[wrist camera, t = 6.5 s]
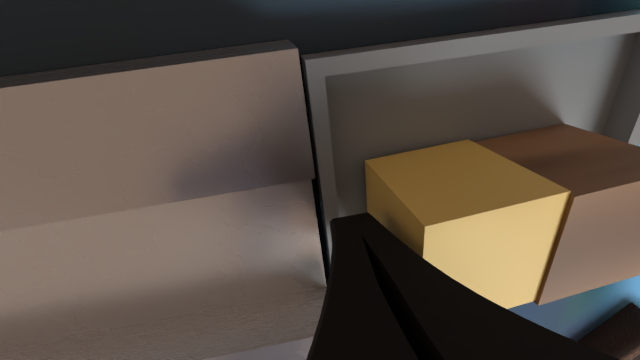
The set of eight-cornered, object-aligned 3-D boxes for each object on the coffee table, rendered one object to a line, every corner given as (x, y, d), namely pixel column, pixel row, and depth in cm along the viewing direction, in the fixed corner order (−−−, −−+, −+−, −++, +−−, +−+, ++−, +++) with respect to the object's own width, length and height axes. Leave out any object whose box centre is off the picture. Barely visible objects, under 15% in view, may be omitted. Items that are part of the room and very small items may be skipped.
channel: (327, 305, 15) (342, 381, 12) (-43, 379, 14) (-136, 485, 11) (288, 39, 9) (297, 48, 6) (-351, 123, 8) (-754, 190, 5)
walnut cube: (540, 209, 14) (642, 274, 10) (458, 230, 13) (538, 305, 9) (564, 123, 12) (701, 165, 8) (470, 142, 11) (574, 196, 8)
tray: (561, 252, 16) (585, 271, 14) (332, 297, 15) (338, 322, 14) (646, 8, 10) (696, 6, 9) (300, 55, 10) (305, 60, 8)
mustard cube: (457, 226, 13) (535, 300, 10) (368, 248, 12) (417, 335, 9) (468, 139, 11) (571, 191, 8) (364, 160, 11) (424, 226, 7)
